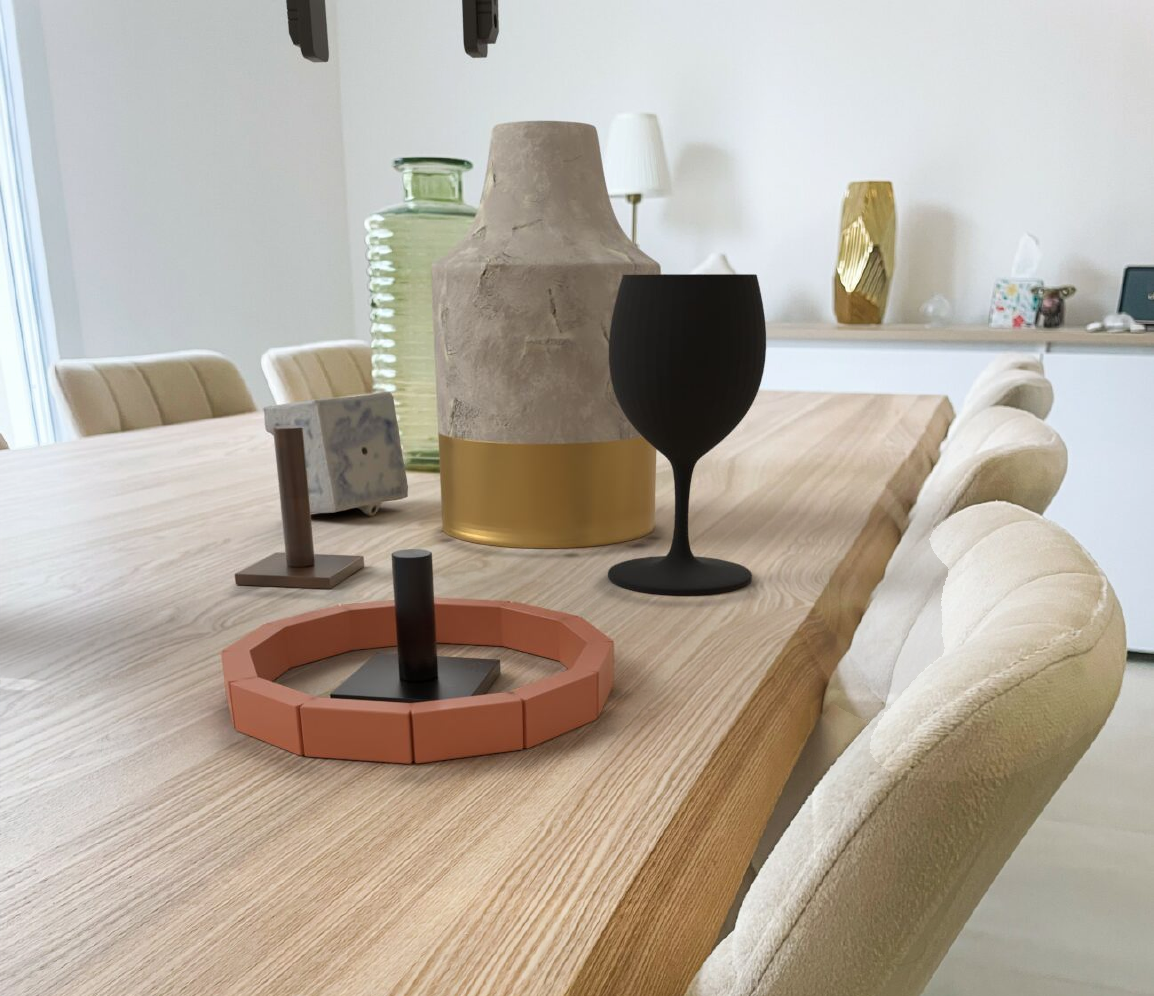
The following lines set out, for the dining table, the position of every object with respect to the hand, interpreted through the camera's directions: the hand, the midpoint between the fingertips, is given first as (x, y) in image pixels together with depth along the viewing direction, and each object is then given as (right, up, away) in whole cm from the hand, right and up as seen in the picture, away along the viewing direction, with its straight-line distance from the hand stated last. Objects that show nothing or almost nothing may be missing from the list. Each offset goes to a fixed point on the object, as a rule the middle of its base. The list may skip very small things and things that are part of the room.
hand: (395, 58), depth 59 cm
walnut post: (-11, -22, +25) cm, 35 cm away
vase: (+7, -15, +42) cm, 45 cm away
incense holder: (-12, -13, +48) cm, 51 cm away
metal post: (+1, -32, +1) cm, 32 cm away
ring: (+1, -32, +1) cm, 32 cm away
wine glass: (+17, -23, +24) cm, 37 cm away
